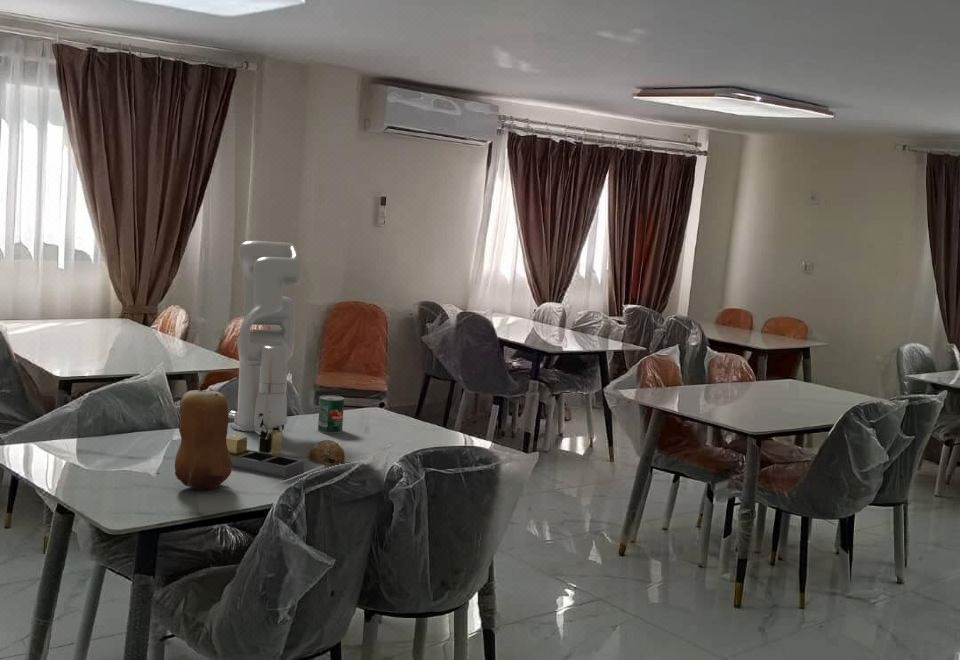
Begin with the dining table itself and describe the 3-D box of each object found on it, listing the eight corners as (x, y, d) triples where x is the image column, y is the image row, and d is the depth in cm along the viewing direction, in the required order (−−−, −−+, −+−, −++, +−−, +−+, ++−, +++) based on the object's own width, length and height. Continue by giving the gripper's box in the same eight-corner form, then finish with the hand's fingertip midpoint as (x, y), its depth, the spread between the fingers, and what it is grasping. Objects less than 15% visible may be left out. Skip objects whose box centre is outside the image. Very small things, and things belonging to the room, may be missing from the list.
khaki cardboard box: (222, 462, 269) (223, 437, 268) (232, 459, 273) (233, 434, 272) (235, 465, 267) (237, 440, 266) (246, 462, 271) (247, 437, 270)
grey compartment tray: (211, 464, 268) (212, 452, 267) (231, 458, 276) (231, 446, 275) (285, 480, 258) (285, 467, 258) (303, 473, 266) (304, 460, 266)
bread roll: (311, 477, 276) (317, 455, 272) (302, 454, 284) (307, 432, 280) (345, 475, 281) (350, 453, 277) (335, 452, 288) (340, 430, 284)
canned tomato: (321, 427, 321) (323, 394, 320) (345, 429, 320) (347, 396, 319) (314, 432, 314) (316, 398, 312) (338, 434, 313) (340, 400, 311)
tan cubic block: (258, 455, 281) (259, 431, 280) (267, 452, 285) (269, 428, 284) (271, 458, 279) (272, 434, 278) (280, 454, 283) (282, 431, 282)
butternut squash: (209, 477, 256) (213, 383, 252) (241, 490, 247) (245, 392, 244) (162, 486, 245) (165, 388, 242) (193, 499, 236) (197, 398, 233)
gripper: (279, 382, 289) (276, 442, 291) (243, 390, 273) (240, 454, 276) (300, 385, 286) (297, 446, 288) (266, 394, 270) (263, 458, 273)
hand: (269, 449), depth 282 cm, fingers closed on tan cubic block, 4 cm apart
